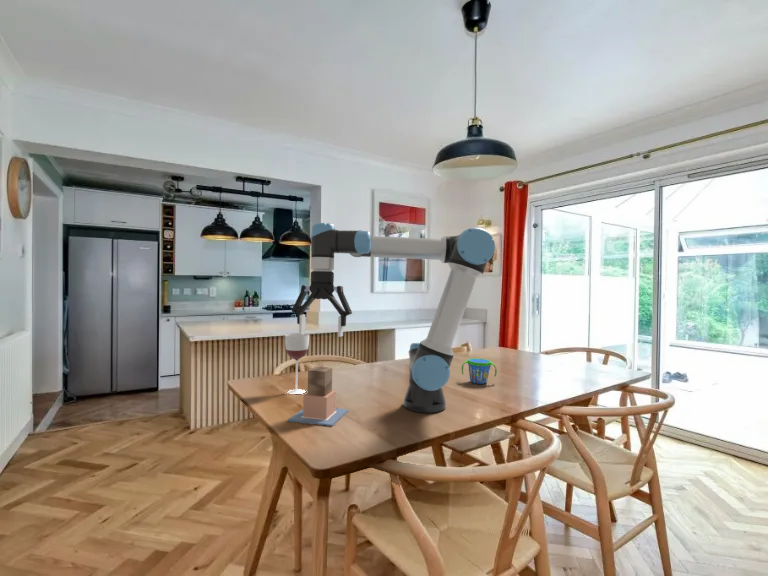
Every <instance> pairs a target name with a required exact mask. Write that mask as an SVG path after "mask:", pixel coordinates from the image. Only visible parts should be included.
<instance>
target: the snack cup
mask: <svg viewBox="0 0 768 576" xmlns="http://www.w3.org/2000/svg"><path fill="white" fill-rule="evenodd" d="M466 363H467V364H468V374H469V375H468V376H469V381H471V382H470V383H472V382H473V383H472V384H475V383H477V385H485V384H487V383H488V379H489V374H490V369H491V366H493V367H494V368H495V370H494V377H497V374H498V370H497V365H496V364H494V363H493V362H492V361H491V360H489V359H485V358H476V357H475V358H468V359H467V360H465V361H464V362H463V363H462V364H461V374H462V375H464V365H465V364H466ZM484 383H485V384H484Z"/></svg>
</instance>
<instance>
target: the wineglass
mask: <svg viewBox="0 0 768 576" xmlns="http://www.w3.org/2000/svg"><path fill="white" fill-rule="evenodd" d="M284 344H285V351H286V353H287V356H289V357H290V358H291V359H293V360H295V373H294V374H295V378H294V380H295V383H294V384H295V385H294V387H295V388H294V389H293V390H292V389H288V390H289V391H288V390H287V391H288V392H287V393H289V394H302V395H304V394H303V393H305V392H306V391H307V390H306V389H303V388H302V389H303V390H302V389H301V388H298V380H299V379H298V376H299V375H298V374H299V373H298V371H299V360H300V359H301V358H303V357H304V356H306V354H307V353H308V350H309V346H310V334H309V333H305V334H302V335H299V332H298V333H297V332H295V333H286V334H285V335H284ZM305 390H306V391H305ZM305 394H306V393H305Z"/></svg>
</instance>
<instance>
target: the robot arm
mask: <svg viewBox="0 0 768 576" xmlns="http://www.w3.org/2000/svg"><path fill="white" fill-rule="evenodd" d="M310 240H311V242H310V245H311V246H310V247H311V248H310V249H311V250H310V251H311V252H310V253H311V256H310V258H311V259H310V270H312V271H310V285H308V284H302V285H301V287H300V292H299V295H298V296H297V299H296V300H295V303H294V305H293V307H292V309H291V312H292V313H294V314H296V316H297V317H296V320H297V321H296V323H297V325H299V330H298V333H299V335H302V334H306V314H304V313H305V311H306V310H307V309H309V307H310V305H311V304H312V303H313V302H314V301H315V300H328V301H330V303H331V305H332V306H333V308H334V309H335V310H336V311H337V313H338V314H339V315H340V316H338V317H337V319H338V320H337V321H338V322H337V323H338V324H337V337H338V338H341V337H344V327H346V326H347V316H350V315H352V313H353V311H352V309H351V307H350V304H349V302H348V300H347V298H346V295H345V293H344V287H343V285H337V286H334V282H335V277H334V276H335V273H334V272H333V271H334V269H335V254H349V255H351V257H353V258H361V257H365V258H366V257H367V258H370V257H371V258H386V259H387V258H391V259H409V260H410V259H411V260H414V259H415V260H431V261H432V260H434V261H435V260H436V261H441V264H447V265H448V267H449V268H450V272H449V274H448V277H447V280H446V283H445V285H444V286H445V287H444V289H443V292H442V295H441V297H440V300H439V302H438V306H437V308H436V310H435V314H434V317H433V320H432V322H431V325H430V328H429V331H428V332H427V336H426V338H424V339H423V340H421V341H420V342H412V343H411V344H410V345H409V351H408V352H409V369H408V371H409V373H408V374H409V375H408V376H409V377H408V378H409V379H408V380H409V381H408V385H407V386H408V387H407V389H406V392H405V395H404V398H403V407H404V408H406V409H407V410H409V411H411V412H416V413H417V412H418V413H424V414H425V413H427V414H431V413H438V412H439V411H440V412H442V410H443V411H444V410H445V409H446V408H447V407H446V404H447V402H446V397H445V395H444V391H443V387H445V386H446V384H447V383H448V381H449V379H450V374H451V368H450V367H451V364H452V361H453V359H454V356H455V353H454V351H453V348H452V347H453V345H454V341H455V339H456V336H457V333H458V330H459V328H460V326H461V325H460V324H461V322H462V319H463V316H464V315H465V311H466V308H467V305H468V302H469V301H470V300H469V299H470V297H471V294H472V291H473V289H474V286H475V283H476V280H477V279H478V278H480V277H481V276H483V275H484V272H485V269H486V266H487V263H488V262H489V261H490V260H491V259H492V257H493V255H494V254H495V250H496V243H495V240H494V236H492V234H491V233H490V232H488V231H487V230H486V229H484V228H481V227H470V228H467V229H465V230H464V231H463V232H461V233H460V234H458V235H450V236H447V235H444V236H443V237H442V238H428V237H427V238H425V237H424V238H423V237H400V236H376V235H371V232H370V231H368V230H340V229H339V230H338V229H336V227H335V224H333V223H329V222H328V223H326V222H317V223H314V224H313V225H312V227H311V236H310ZM309 291H310V292H311V294H310V295H309V296H308V298H307V299H306V300H305V298H306V296H307V293H308V292H309ZM334 292H335V294H337V296H338V298H339V301H340V303H341V304H340V303H339V301H338V300H337V299H336V297H335V296H334V294H333V293H334ZM304 300H305V301H304ZM303 302H304V303H303Z"/></svg>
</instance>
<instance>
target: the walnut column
mask: <svg viewBox="0 0 768 576" xmlns="http://www.w3.org/2000/svg"><path fill="white" fill-rule="evenodd" d="M332 391H333V367H329V366H328V367H326V366H313V367H312V368H309V369H308V370H307V393H308V395H315V396H326V395H328V394H329V393H330V392H332Z"/></svg>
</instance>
